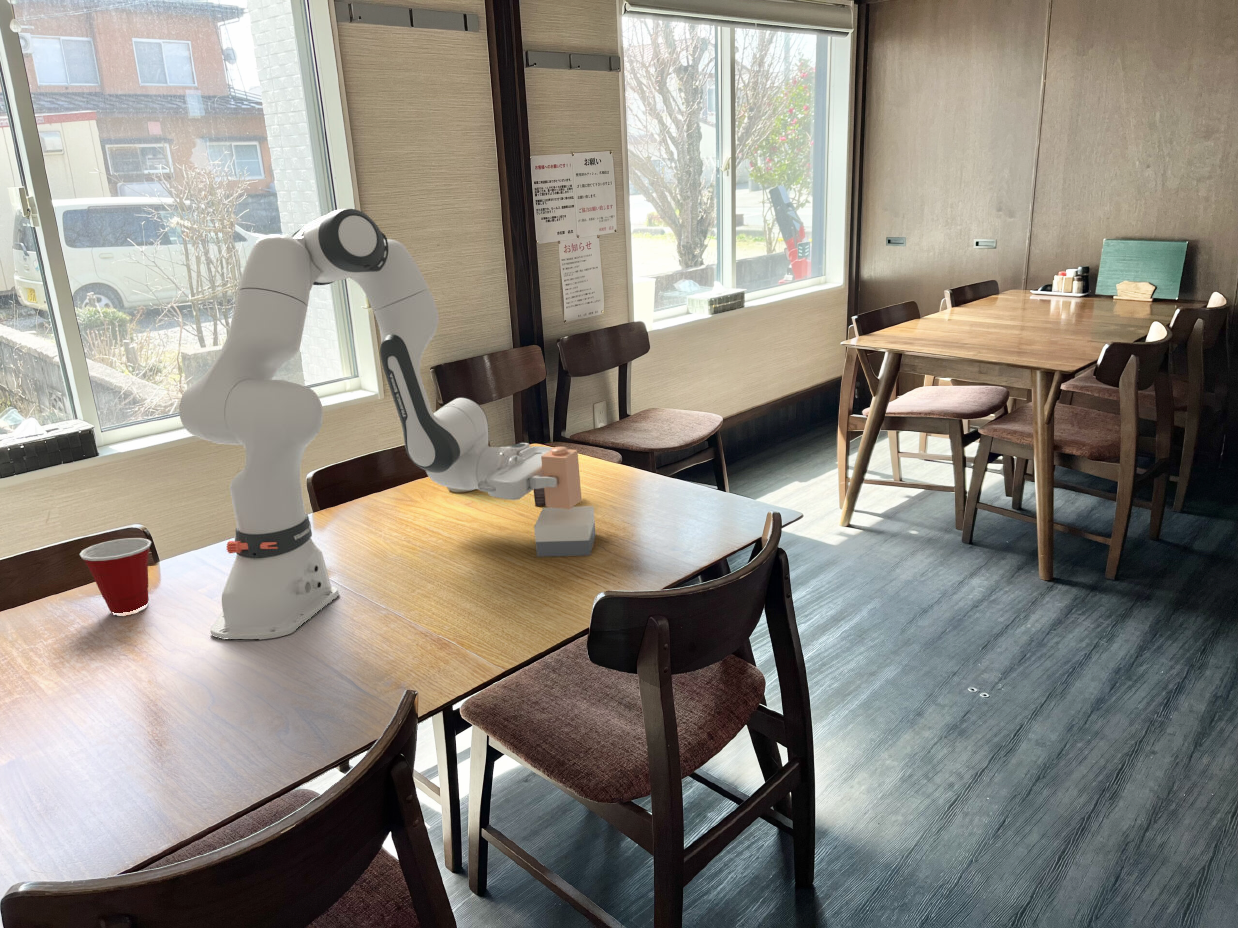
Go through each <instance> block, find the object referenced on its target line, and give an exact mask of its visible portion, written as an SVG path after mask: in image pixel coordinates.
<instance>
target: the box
mask: <svg viewBox="0 0 1238 928" xmlns="http://www.w3.org/2000/svg"><path fill="white" fill-rule="evenodd" d="M533 497H534V498H533V499H534V505H535V507H542V506H544V507H546V502H545V491H544V488H539V489H534V490H533Z"/></svg>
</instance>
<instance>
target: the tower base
mask: <svg viewBox="0 0 1238 928" xmlns="http://www.w3.org/2000/svg"><path fill="white" fill-rule="evenodd" d="M533 529H534V539H535V551H536V557H538V558H539V557H541V558H542V557H543V558H544V557H545V558H546V557H571V556H572V557H576V556H577V557H578V556H591V553H592V550H593V546H594V541H595V539H596V535H597V534H596V521H595V508H594V505H591V506H590V505H586V506H585V505H583V506H573V507H572V508H571V509H562V508H552V507H542V509H541V511H540V513H539V515H538V517H537V519H536V521H535V524H534V528H533Z"/></svg>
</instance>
